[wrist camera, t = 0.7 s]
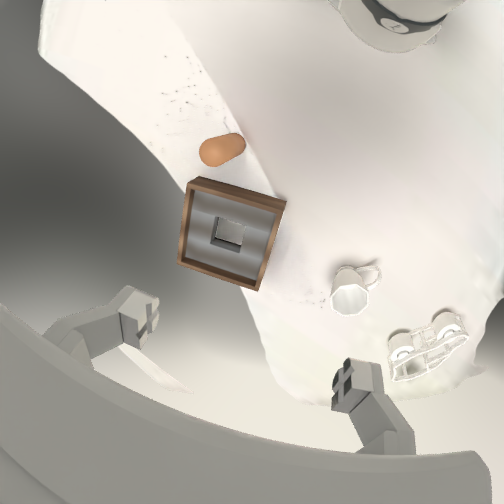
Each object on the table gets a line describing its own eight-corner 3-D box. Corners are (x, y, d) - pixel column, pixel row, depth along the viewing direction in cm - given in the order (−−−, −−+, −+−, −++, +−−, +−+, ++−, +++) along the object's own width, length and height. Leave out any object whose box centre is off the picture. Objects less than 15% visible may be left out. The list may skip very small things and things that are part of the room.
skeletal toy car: (455, 299, 47) (467, 321, 41) (461, 331, 50) (470, 352, 44) (377, 336, 56) (381, 360, 50) (390, 363, 59) (393, 386, 53)
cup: (321, 270, 51) (321, 295, 44) (368, 244, 47) (376, 267, 40) (339, 296, 53) (340, 323, 46) (384, 273, 49) (392, 299, 42)
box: (198, 176, 48) (187, 182, 44) (286, 201, 47) (283, 210, 42) (187, 251, 56) (176, 263, 52) (263, 276, 55) (257, 291, 50)
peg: (225, 130, 43) (202, 135, 34) (247, 136, 43) (230, 141, 34) (220, 153, 45) (196, 163, 36) (242, 158, 45) (224, 170, 36)
